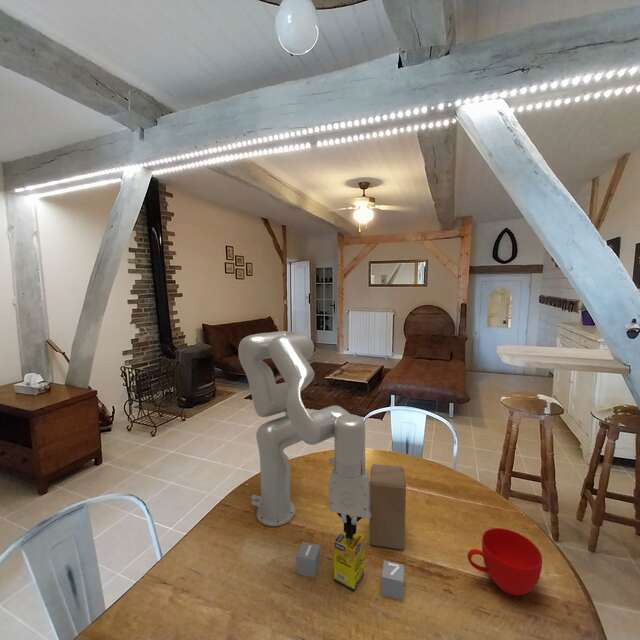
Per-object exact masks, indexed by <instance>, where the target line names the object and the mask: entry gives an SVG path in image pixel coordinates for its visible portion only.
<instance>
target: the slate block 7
mask: <svg viewBox="0 0 640 640" xmlns="http://www.w3.org/2000/svg"><path fill="white" fill-rule="evenodd" d="M404 579H405V564H402V563H399V562H393V561H390V560H385V559H384V560H383V566H382V573H381V596H384V597H387V598H391V599H395V600H399V601H404V586H405V585H404V584H405V583H404V581H405V580H404Z"/></svg>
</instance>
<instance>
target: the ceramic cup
mask: <svg viewBox="0 0 640 640" xmlns="http://www.w3.org/2000/svg"><path fill="white" fill-rule="evenodd" d="M474 555H479V556H481V557H482V558H483V559H482V560H483V562H484V566H481V565H478V564H477V563H475V562H474V561H473V560H472V557H473V556H474ZM467 560H468V562H469V563H470V565H471V566H472V567H473V568H474V569H475V570H478V571H480V572H483V573H485V574H486V573H487V574H488V575H489V577H490V578H491V580H492V581H493V582H494V583H495V584H496V586H497V587H498V588H499V590H501V591H503V592H504V593H506V594H508V595H511V596H514V597H515V596H516V597H517V596H522V595H525V594H528V593H530V592H531V591H533V590H534V588H535V587H536V586H537V584H538V583H539V580H540V576H541V572H542V567H543V556H542V553H541V551H540V550H539V548H538V547H537V546H536V545H535V544H534V542H532V541H531V540H530V539H529V538H528V537H526V536H524V535H522V534H520V533H519V532H517V531H514V530H511V529H507V528H500V527H495V528H489V529H488V530H485V531H484V533H483V534H482V536H481V550H480V549H476V548H471V549H470V550H469V551H468V553H467Z"/></svg>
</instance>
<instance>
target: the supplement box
mask: <svg viewBox="0 0 640 640" xmlns="http://www.w3.org/2000/svg"><path fill="white" fill-rule="evenodd" d="M333 542H334V543H333V551H334V552H333V556H334V557H333V581H334V582H335V583H338V584H339V585H341V586H343V587H345V588H346V589H349V590H350V591H352V592H355V591H356V589H357V587H358V585H359V583H360V581H361V580H362V578H363V577H364V575H365V535H363V534H361V533H358V532H356V534H354V535H353V538H352V539H350V538H348V539H347V538H346V532H344V529H342V531H341V533H339V534H338V536H337V537H336V539H334V541H333Z"/></svg>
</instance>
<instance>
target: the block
mask: <svg viewBox="0 0 640 640" xmlns="http://www.w3.org/2000/svg"><path fill="white" fill-rule="evenodd" d="M405 472H406V471H405V468H404V467H403V466H395V465H389V464H388V465H387V464H377V463H372V465H371V466H370V473H369V474H370V475H369V482H370V493H371V504H370V508H371V512H372V514H371V517H370V518H368V519H369V521H368V522H369V523H368V525H369V526H368V528H369V529H368V530H369V531H368V536H369V538H368V541H369V543H370V545H371V546H375V547H382V548H387V549H395V550H404V548H405V542H406V538H405V537H406V508H407V507H406V505H407V503H406V502H407V501H406V500H407V499H406V498H407V497H406V496H407V485H406V484H407V483H406V473H405Z"/></svg>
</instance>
